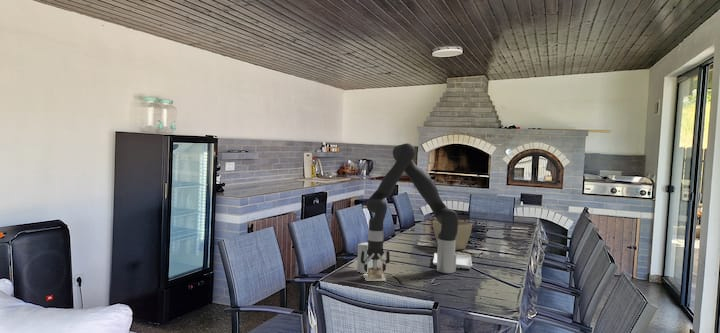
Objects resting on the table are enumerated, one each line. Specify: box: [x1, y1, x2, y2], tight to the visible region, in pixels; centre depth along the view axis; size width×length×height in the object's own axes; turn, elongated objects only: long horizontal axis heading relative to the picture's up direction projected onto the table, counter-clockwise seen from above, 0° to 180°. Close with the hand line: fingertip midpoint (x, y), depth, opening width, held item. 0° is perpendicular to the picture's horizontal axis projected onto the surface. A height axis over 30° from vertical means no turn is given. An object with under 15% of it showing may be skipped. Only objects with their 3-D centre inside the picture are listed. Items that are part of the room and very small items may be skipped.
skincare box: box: [356, 241, 373, 274], centre depth 226 cm, size 8×6×15 cm
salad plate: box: [432, 252, 473, 270], centre depth 245 cm, size 21×21×3 cm
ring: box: [368, 266, 383, 279], centre depth 215 cm, size 6×6×4 cm
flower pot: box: [432, 219, 473, 251], centre depth 284 cm, size 19×19×17 cm
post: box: [362, 259, 387, 282], centre depth 215 cm, size 10×10×10 cm
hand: (374, 271), depth 215 cm, fingers open, 8 cm apart
